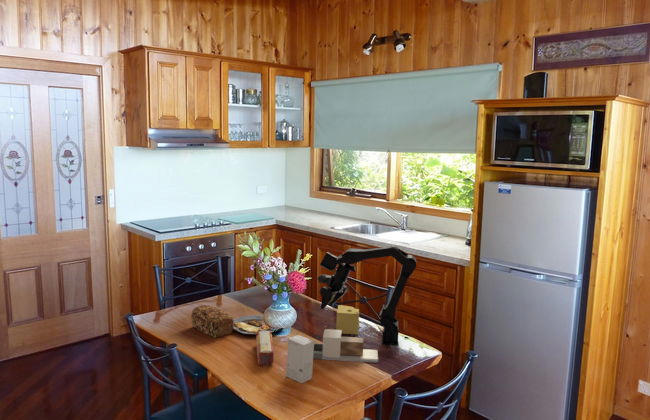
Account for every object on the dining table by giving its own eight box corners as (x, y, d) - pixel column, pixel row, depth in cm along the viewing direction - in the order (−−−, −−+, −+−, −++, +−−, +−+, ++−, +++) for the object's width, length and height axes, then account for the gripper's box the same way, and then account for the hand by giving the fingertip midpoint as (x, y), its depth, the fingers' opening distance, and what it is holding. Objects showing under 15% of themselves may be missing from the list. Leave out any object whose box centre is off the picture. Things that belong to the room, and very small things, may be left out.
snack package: (274, 366, 206) (274, 350, 205) (256, 367, 205) (257, 350, 204) (271, 344, 227) (272, 329, 226) (256, 345, 226) (256, 329, 225)
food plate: (294, 329, 245) (294, 321, 244) (253, 342, 228) (253, 334, 228) (260, 316, 262) (260, 309, 262) (219, 327, 246) (219, 320, 245)
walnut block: (362, 350, 220) (363, 337, 219) (362, 355, 215) (363, 342, 214) (328, 348, 221) (328, 335, 220) (327, 353, 216) (328, 340, 215)
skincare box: (285, 376, 198) (286, 338, 195) (296, 371, 202) (297, 333, 200) (302, 384, 192) (303, 344, 190) (313, 378, 197) (314, 339, 195)
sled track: (377, 352, 222) (378, 331, 221) (377, 362, 212) (378, 340, 211) (312, 348, 224) (313, 327, 222) (310, 358, 214) (311, 337, 213)
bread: (190, 327, 243) (190, 306, 242) (210, 322, 251) (210, 301, 249) (214, 339, 230) (214, 317, 229) (234, 333, 238) (234, 311, 237)
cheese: (359, 326, 250) (360, 306, 249) (358, 335, 240) (359, 314, 238) (336, 325, 251) (337, 304, 250) (335, 334, 241) (335, 312, 239)
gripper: (334, 264, 244) (320, 294, 247) (316, 269, 227) (301, 300, 230) (354, 276, 240) (340, 306, 243) (338, 282, 223) (323, 314, 226)
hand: (326, 306), depth 236 cm, fingers open, 9 cm apart
